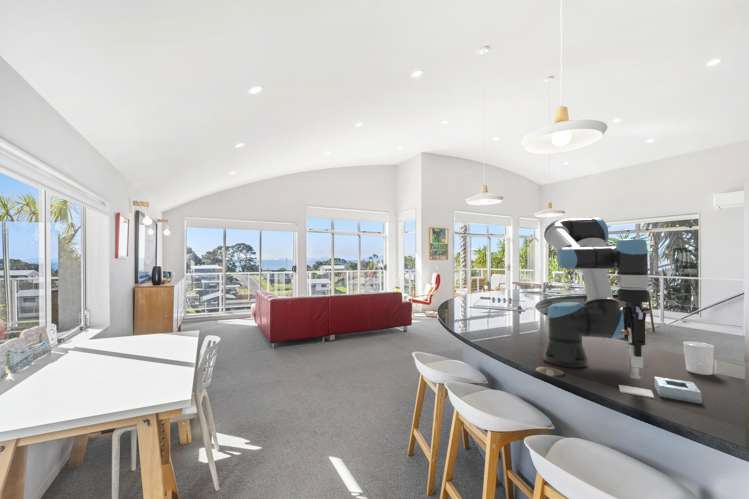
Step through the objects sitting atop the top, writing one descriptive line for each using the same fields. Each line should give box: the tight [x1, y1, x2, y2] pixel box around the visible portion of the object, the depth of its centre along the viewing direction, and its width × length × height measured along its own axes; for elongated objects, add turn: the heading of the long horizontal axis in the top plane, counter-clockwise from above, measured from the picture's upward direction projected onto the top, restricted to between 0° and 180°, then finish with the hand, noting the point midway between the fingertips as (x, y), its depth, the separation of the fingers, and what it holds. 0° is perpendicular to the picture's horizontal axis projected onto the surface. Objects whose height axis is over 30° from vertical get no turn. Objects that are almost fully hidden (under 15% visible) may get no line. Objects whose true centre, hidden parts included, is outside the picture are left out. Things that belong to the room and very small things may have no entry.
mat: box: [618, 384, 655, 399], centre depth 100 cm, size 8×6×1 cm
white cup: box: [683, 340, 715, 376], centre depth 118 cm, size 8×8×10 cm
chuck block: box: [654, 376, 703, 404], centre depth 98 cm, size 9×9×3 cm
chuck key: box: [621, 327, 648, 380], centre depth 101 cm, size 3×6×15 cm, turn 66°
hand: (635, 364), depth 100 cm, fingers closed on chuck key, 3 cm apart
